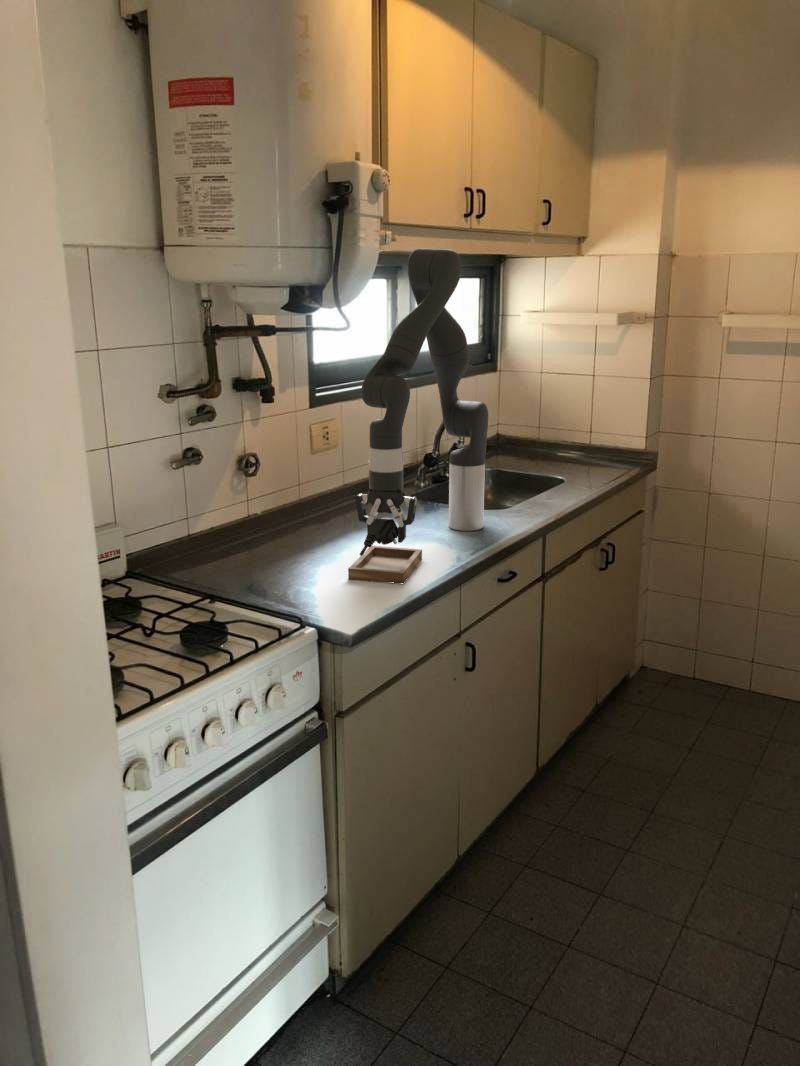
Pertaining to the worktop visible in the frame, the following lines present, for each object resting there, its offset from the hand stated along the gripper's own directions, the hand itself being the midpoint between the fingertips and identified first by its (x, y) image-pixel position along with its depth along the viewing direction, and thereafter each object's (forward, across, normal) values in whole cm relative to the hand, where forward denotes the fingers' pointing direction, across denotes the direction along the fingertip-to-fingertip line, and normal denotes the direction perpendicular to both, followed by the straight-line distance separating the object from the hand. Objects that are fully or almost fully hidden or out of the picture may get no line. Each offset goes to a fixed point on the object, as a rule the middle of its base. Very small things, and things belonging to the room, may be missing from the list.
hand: (386, 540), depth 190 cm
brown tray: (+7, 0, 0) cm, 7 cm away
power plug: (+1, +1, +4) cm, 4 cm away
